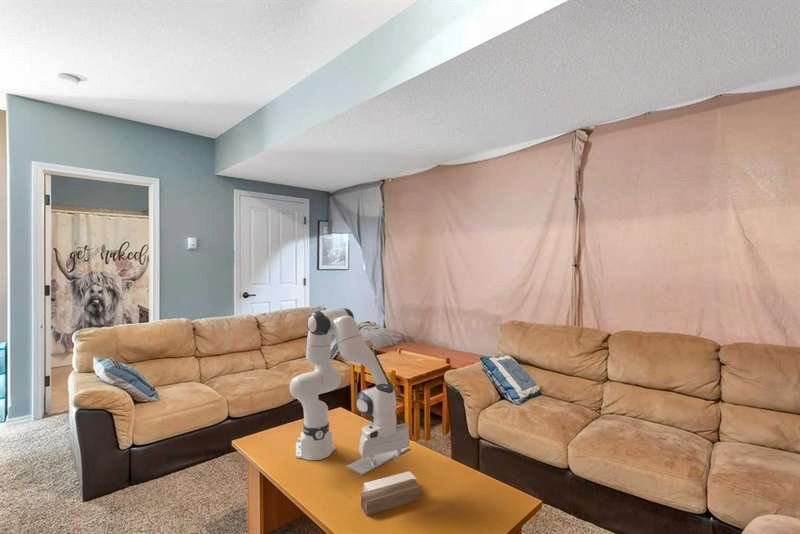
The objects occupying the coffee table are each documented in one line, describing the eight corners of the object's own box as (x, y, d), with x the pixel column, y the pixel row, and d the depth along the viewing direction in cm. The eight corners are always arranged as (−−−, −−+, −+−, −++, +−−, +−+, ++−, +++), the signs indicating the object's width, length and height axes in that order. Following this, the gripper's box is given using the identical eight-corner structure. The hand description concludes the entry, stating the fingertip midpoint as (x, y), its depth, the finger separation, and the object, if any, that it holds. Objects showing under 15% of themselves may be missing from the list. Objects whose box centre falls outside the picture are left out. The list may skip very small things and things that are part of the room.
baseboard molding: (343, 467, 172) (361, 477, 164) (343, 460, 172) (361, 470, 164) (391, 442, 195) (409, 450, 187) (391, 437, 195) (409, 444, 187)
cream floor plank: (363, 495, 150) (363, 483, 150) (409, 483, 159) (409, 471, 159) (369, 504, 145) (369, 491, 145) (416, 490, 154) (416, 478, 154)
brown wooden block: (360, 506, 143) (360, 493, 143) (413, 491, 153) (413, 478, 153) (366, 516, 138) (366, 502, 138) (420, 499, 148) (420, 486, 148)
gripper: (405, 419, 158) (405, 453, 158) (357, 429, 149) (357, 464, 149) (412, 425, 152) (412, 460, 152) (363, 435, 143) (363, 472, 143)
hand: (385, 462), depth 151 cm, fingers open, 8 cm apart
